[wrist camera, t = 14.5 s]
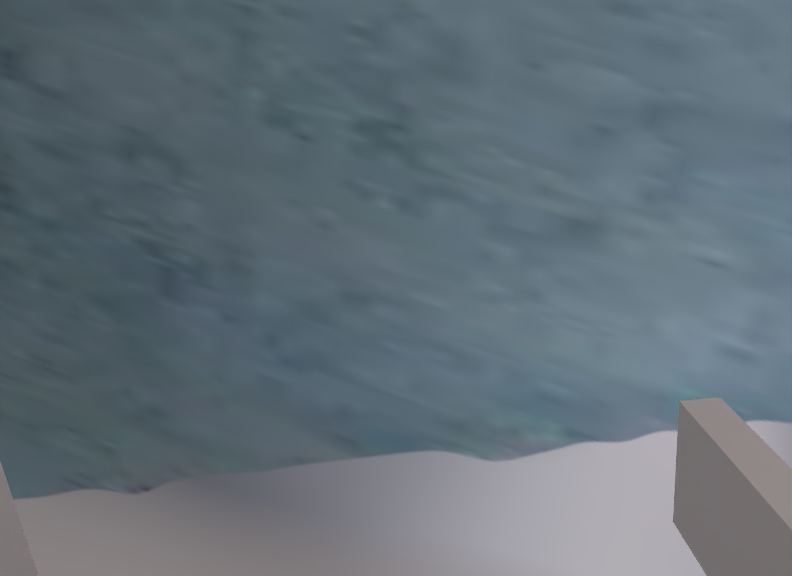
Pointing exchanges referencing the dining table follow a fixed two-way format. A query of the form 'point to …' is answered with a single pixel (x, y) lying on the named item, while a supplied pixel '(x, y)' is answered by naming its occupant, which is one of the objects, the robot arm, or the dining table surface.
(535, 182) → the dining table surface
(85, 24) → the dining table surface
